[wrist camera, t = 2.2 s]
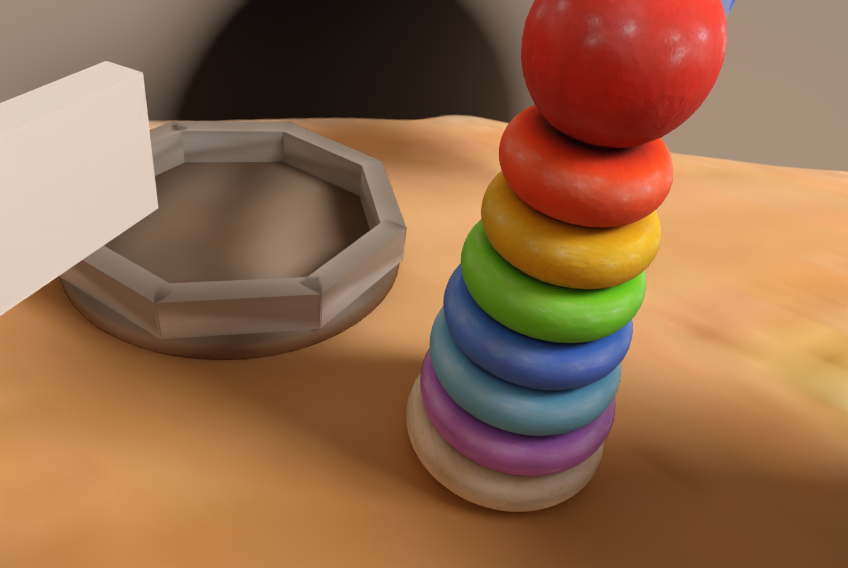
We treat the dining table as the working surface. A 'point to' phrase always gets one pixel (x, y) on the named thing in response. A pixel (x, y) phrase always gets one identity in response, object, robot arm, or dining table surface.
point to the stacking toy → (561, 251)
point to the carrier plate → (246, 244)
